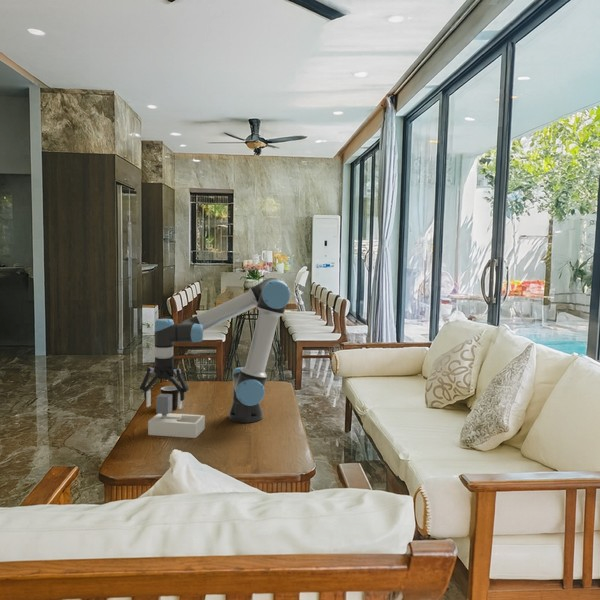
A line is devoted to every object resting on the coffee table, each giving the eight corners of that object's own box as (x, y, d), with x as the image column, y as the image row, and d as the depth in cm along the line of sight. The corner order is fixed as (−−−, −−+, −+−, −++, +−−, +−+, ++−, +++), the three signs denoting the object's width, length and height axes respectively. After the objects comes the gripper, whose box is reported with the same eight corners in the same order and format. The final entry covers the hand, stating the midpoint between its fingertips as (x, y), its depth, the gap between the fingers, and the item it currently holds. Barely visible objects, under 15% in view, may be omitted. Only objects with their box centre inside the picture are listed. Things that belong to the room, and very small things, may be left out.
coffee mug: (174, 412, 257) (174, 391, 257) (157, 410, 259) (157, 389, 258) (184, 405, 269) (184, 385, 268) (168, 404, 270) (168, 384, 270)
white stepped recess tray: (204, 428, 235) (204, 415, 235) (195, 438, 223) (195, 424, 223) (159, 425, 238) (159, 412, 237) (148, 434, 226) (148, 421, 225)
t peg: (175, 426, 234) (175, 393, 233) (169, 431, 227) (169, 398, 226) (159, 425, 235) (159, 392, 234) (153, 430, 228) (152, 397, 227)
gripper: (196, 356, 230) (196, 406, 232) (139, 353, 234) (139, 403, 236) (190, 359, 223) (190, 411, 225) (131, 357, 226) (131, 408, 228)
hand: (164, 407), depth 230 cm, fingers open, 13 cm apart
